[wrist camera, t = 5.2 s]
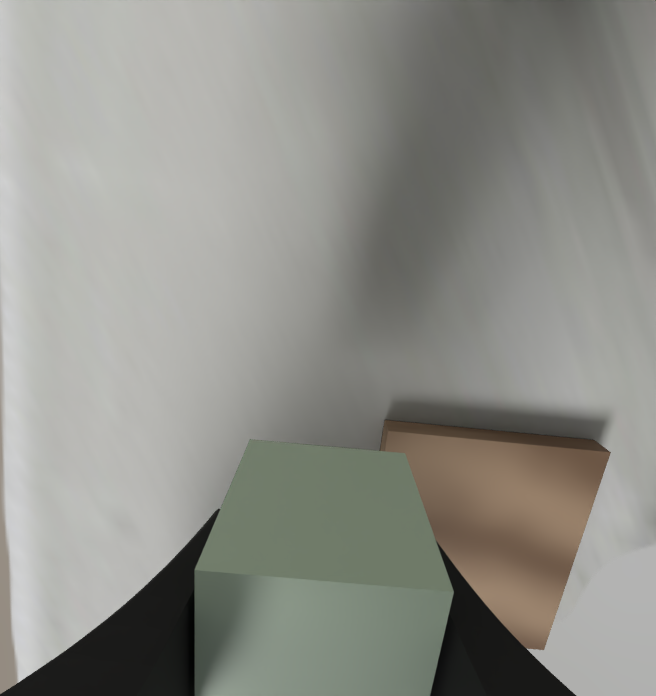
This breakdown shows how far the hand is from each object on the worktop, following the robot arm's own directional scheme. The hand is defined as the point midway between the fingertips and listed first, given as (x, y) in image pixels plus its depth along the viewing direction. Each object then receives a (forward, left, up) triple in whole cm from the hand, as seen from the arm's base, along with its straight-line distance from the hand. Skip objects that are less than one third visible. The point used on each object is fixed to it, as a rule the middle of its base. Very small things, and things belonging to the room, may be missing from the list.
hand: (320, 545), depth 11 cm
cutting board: (-6, -9, -8) cm, 13 cm away
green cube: (0, 0, -1) cm, 1 cm away
